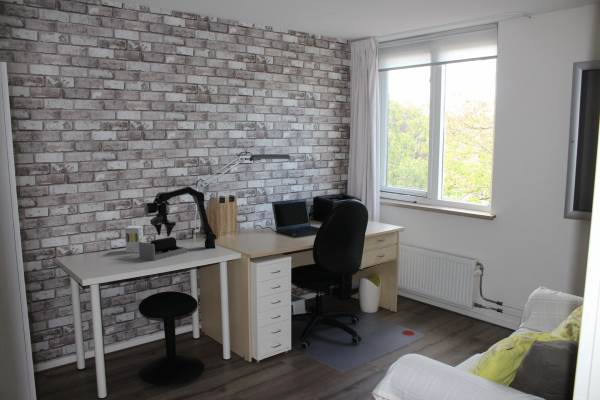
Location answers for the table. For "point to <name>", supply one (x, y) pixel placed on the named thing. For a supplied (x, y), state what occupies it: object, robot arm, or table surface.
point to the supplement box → (133, 238)
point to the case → (149, 252)
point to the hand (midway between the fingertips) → (163, 235)
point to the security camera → (165, 244)
